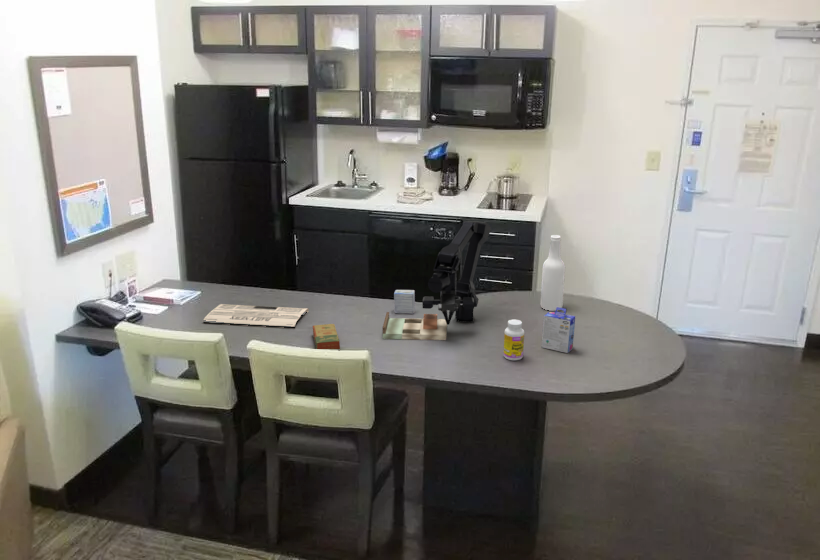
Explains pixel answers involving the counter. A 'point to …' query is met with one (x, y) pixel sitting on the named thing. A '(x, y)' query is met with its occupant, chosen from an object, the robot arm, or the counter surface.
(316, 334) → the carton
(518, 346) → the supplement bottle
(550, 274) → the alcohol
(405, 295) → the medicine box
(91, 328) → the counter surface
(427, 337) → the trap board
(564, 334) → the ink cartridge box
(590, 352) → the counter surface
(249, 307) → the newspaper
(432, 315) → the block
